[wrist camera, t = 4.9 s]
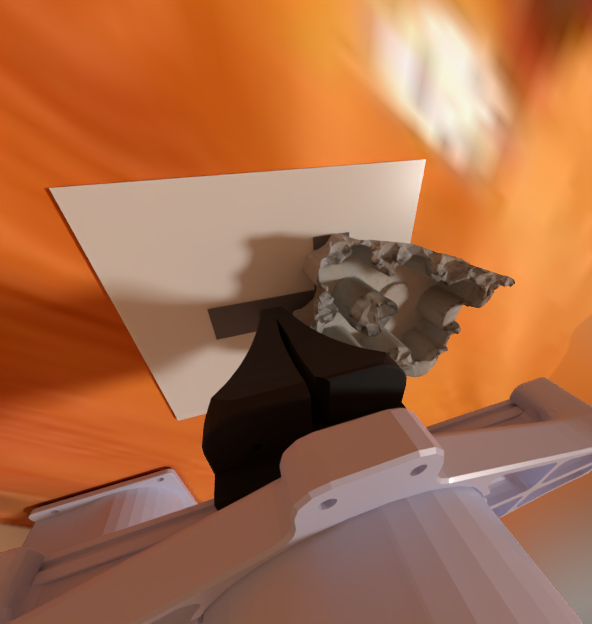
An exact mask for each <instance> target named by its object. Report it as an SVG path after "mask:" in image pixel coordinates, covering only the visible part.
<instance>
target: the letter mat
mask: <svg viewBox="0 0 592 624" xmlns="http://www.w3.org/2000/svg"><path fill="white" fill-rule="evenodd" d="M425 162H426V159H424V160H411V161H398V162H384V163H371V164H358V165H345V166H332V167H319V168H306V169H293V170H279V171H266V172H253V173H240V174H227V175H214V176H201V177H188V178H174V179H161V180H148V181H135V182H122V183H109V184H96V185H82V186H69V187H56V188H49V189H50V191H51V193H52V195H53V196H54V198H55V200H56V202H57V204H58V205H59V207H60V209H61V211H62V213H63V214H64V216H65V218H66V220H67V222H68V223H69V225H70V227H71V229H72V231H73V232H74V234H75V236H76V238H77V240H78V241H79V243H80V245H81V247H82V249H83V250H84V252H85V254H86V256H87V258H88V259H89V261H90V263H91V265H92V267H93V268H94V270H95V272H96V274H97V276H98V277H99V279H100V281H101V283H102V285H103V286H104V288H105V290H106V292H107V294H108V295H109V297H110V299H111V301H112V303H113V304H114V306H115V308H116V310H117V312H118V313H119V315H120V317H121V319H122V321H123V322H124V324H125V326H126V328H127V330H128V331H129V333H130V335H131V337H132V339H133V340H134V342H135V344H136V346H137V348H138V349H139V351H140V353H141V355H142V357H143V358H144V360H145V362H146V364H147V366H148V367H149V369H150V371H151V373H152V374H153V376H154V378H155V380H156V382H157V383H158V385H159V387H160V389H161V391H162V392H163V394H164V396H165V398H166V400H167V401H168V403H169V405H170V407H171V409H172V410H173V412H174V414H175V416H176V418H177V419H178V421H180V420H183V419H187V418H191V417H195V416H198V415H202V414H206V413H207V410H208V406H209V403H210V400H211V398H212V396H214V395H215V394H216V393H217V392H218V391H219V390H220V389H221V388H222V387H223V386H224V385H225V384H226V383H227V381H228V380H229V379H230V378H231V376H232V375H233V374H234V373H235V371H236V370H237V369H238V367H239V366H240V364H241V363H242V361H243V360H244V358H245V356H246V355H247V353H248V351H249V349H250V347H251V344H252V342H253V339H254V337H255V334H256V331H257V327H258V323H259V317H260V314H259V312H260V311H261V310H264V309H269V308H275V307H280V306H282V307H284V308H285V309H286V310H287V311H288V312H290V313H291V314H292V315H293V312H294V311H295V310H298V309H302V308H303V307H304V306H306V305H307V304H308V303H309V302H310V301H311V300H312V299H313V298H314V295H315V293H316V285H315V284H314V283H313V282H312V280H311V279H310V278H309V277H308V276H307V275H306V274H305V273H304V272H303V271H302V268H303V266H304V261H305V257H306V254H307V253H309V252H311V251H313V250H318V249H319V248H321V247H322V246H324V245H325V244H326V242H327V241H328V239H329V238H330V236H331V235H333V234H339V233H340V234H343V235H345V236H348V237H351V238H354V239H358V240H378V241H389V242H401V243H408V244H410V241H411V236H412V230H413V225H414V220H415V215H416V209H417V204H418V199H419V194H420V188H421V183H422V178H423V173H424V167H425Z"/></svg>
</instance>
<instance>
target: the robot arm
mask: <svg viewBox="0 0 592 624" xmlns="http://www.w3.org/2000/svg"><path fill="white" fill-rule="evenodd" d="M259 314H260V317H259V323H258V327H257V331H256V334H255V337H254V339H253V342H252V344H251V347H250V349H249V351H248V353H247V355H246V356H245V358H244V360H243V361H242V363H241V364H240V366H239V367H238V369H237V370H236V371H235V373H234V374H233V375H232V376H231V378H230V379H229V380H228V381H227V383H226V384H225V385H224V386H223V387H222V388H221V389H220V390H219V391H218V392H217V393H216V394H215V395H214V396H212V398H211V400H210V403H209V406H208V410H207V414H206V418H205V423H204V429H203V441H202V449H203V453H204V455H205V457H206V459H207V461H208V463H209V465H210V466H211V468H212V470H213V472H214V474H215V490H214V499H211V500H208V501H205V502H202V503H199V504H198V503H197V502H196V500H195V499H194V498H193V496H192V495H191V493H190V492H189V490H188V489H187V488H186V486H185V485H184V483H183V482H182V480H181V479H180V478H179V476H178V475H177V473H176V472H175V470H173V469H165V470H162V471H158V472H155V473H151V474H148V475H145V476H141V477H138V478H135V479H131V480H128V481H125V482H121V483H118V484H115V485H111V486H108V487H105V488H101V489H98V490H95V491H91V492H88V493H85V494H81V495H78V496H75V497H71V498H68V499H65V500H61V501H58V502H55V503H51V504H48V505H45V506H41V507H38V508H35V509H33V510H32V511H31V513H30V515H29V516H28V518H29V519H30V520H32V521H33V522H35V524H34V526H33V527H32V529H31V531H30V533H29V535H28V536H27V538H26V540H25V542H24V544H23V546H22V547H20V548H15V549H11V550H8V551H5V552H1V553H0V624H583V622H582V621H581V620H580V619H579V617H578V616H577V615H576V614H575V613H574V612H573V610H572V609H571V608H570V606H569V605H568V604H567V603H566V601H565V600H564V599H563V598H562V596H561V595H560V594H559V593H558V592H557V590H556V589H555V588H554V586H553V585H552V584H551V583H550V581H549V580H548V579H547V578H546V576H545V575H544V574H543V573H542V572H541V570H540V569H539V568H538V567H537V565H536V564H535V563H534V562H533V560H532V559H531V558H530V557H529V555H528V554H527V553H526V552H525V551H524V549H523V548H522V547H521V545H520V544H519V543H518V542H517V540H516V539H515V538H514V537H513V536H512V534H511V533H510V532H509V531H508V529H507V528H506V527H505V525H504V524H503V523H502V522H501V520H500V519H499V518H501V517H502V516H504V515H506V514H508V513H510V512H512V511H514V510H516V509H518V508H519V507H521V506H523V505H525V504H527V503H529V502H531V501H533V500H535V499H536V498H538V497H540V496H542V495H544V494H546V493H548V492H550V491H552V490H554V489H556V488H558V487H560V486H562V485H564V484H566V483H568V482H570V481H573V480H575V479H576V478H579V477H581V476H583V475H585V474H587V473H589V472H590V471H591V470H592V407H591V406H590V405H588V404H586V403H585V402H583V401H582V400H580V399H578V398H577V397H575V396H574V395H572V394H570V393H569V392H567V391H566V390H564V389H562V388H561V387H559V386H558V385H556V384H554V383H553V382H551V381H549V380H548V379H546V378H538V379H535V380H532V381H529V382H526V383H523V384H521V385H519V386H518V387H516V388H515V390H514V391H513V392H512V394H511V396H510V399H509V400H506V401H503V402H500V403H497V404H494V405H491V406H488V407H485V408H482V409H479V410H476V411H473V412H470V413H467V414H464V415H461V416H458V417H455V418H452V419H449V420H446V421H443V422H440V423H437V424H434V425H431V426H428V427H425V426H424V425H423V423H422V422H421V421H420V420H419V418H418V417H417V416H416V415H415V413H413V412H411V411H410V410H408V409H406V407H405V406H404V405H403V404H402V398H403V394H404V390H405V386H406V379H407V378H406V374H405V372H404V371H403V370H402V369H401V368H400V366H399V365H398V364H397V363H396V362H395V361H394V360H393V359H392V358H391V357H390V356H389V355H388V354H387V353H386V352H382V351H376V350H371V349H365V348H361V347H357V346H353V345H350V344H347V343H344V342H341V341H338V340H335V339H333V338H330V337H328V336H326V335H324V334H322V333H319V332H317V331H316V330H314V329H312V328H310V327H309V326H307V325H306V324H304V323H303V322H301V321H300V320H299V319H297V318H296V317H295V316H293V315H292V314H291V313H290V312H288V311H287V310H286V309H285V308H284V307H282V306H280V307H275V308H269V309H264V310H261V311H260V312H259Z"/></svg>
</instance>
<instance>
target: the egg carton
mask: <svg viewBox="0 0 592 624" xmlns="http://www.w3.org/2000/svg"><path fill="white" fill-rule="evenodd" d="M302 271H303V272H304V273H305V274H306V275H307V276H308V277H309V278H310V279H311V280H312V282H313V283H314V284H315V285H316V293H315V295H314V298H313V299H312V300H311V301H310V302H309V303H308V304H307V305H306V306H304V307H303V308H302V309H298V310H295V311H294V312H293V316H295V317H296V318H297V319H299V320H300V321H301V322H303V323H304V324H306V325H307V326H309V327H310V328H312V329H314V330H316V331H317V332H319V333H322V334H324V335H326V336H328V337H330V338H333V339H335V340H338V341H341V342H344V343H347V344H350V345H353V346H357V347H361V348H365V349H371V350H376V351H382V352H386V353H387V354H388V355H389V356H390V357H391V358H392V359H393V360H394V361H395V362H396V363H397V364H398V365H399V366H400V368H401V369H402V370H403V371H404V372H405V374H406V376H411V377H418V376H423V375H424V374H426V373H427V372H428V371H429V370H430V369H431V368H432V367H433V366H434V365H435V363H436V360H437V358H438V356H439V355H440V354H441V353H443V352H444V351H448V349H447V347H446V343H447V341H448V339H449V337H450V336H451V335H452V334H454V333H456V334H458V333H459V332H460V330H461V328H460V326H459V324H458V323H457V322H455V317H456V316H457V314H458V312H459V310H460V308H461V307H462V305H466V306H467V307H468V306H472V307H476V308H479V307H482V306H483V305H484V304H485V303H487V302H488V300H489V299H490V298H491V296H492V295H493V293H494V290H495V289H497V288H498V287H499V286H500V285H502V286H504V287H505V286H508V285H510V287H511V286H512V285H513V284H515V281H514V280H513V279H512V278H510V277H507V276H503V275H500V274H497V273H494V272H490V271H487V270H485V269H482V268H479V267H476V266H473V265H470V263H468V262H466V261H464V260H462V259H459V258H457V257H454V256H450V255H447V254H442V253H436V252H434V251H431V250H428V249H425V248H423V247H420V246H417V245H413V244H408V243H401V242H389V241H378V240H358V239H354V238H351V237H348V236H345V235H343V234H340V233H339V234H333V235H331V236H330V238H329V239H328V241H327V242H326V244H325V245H324V246H322V247H321V248H319V249H318V250H313V251H311V252H309V253H307V254H306V257H305V261H304V266H303V268H302Z"/></svg>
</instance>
